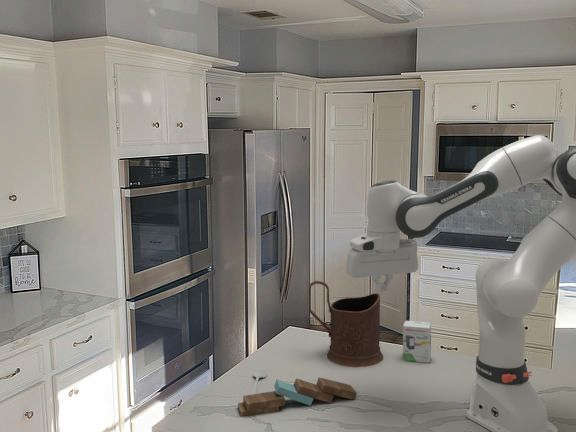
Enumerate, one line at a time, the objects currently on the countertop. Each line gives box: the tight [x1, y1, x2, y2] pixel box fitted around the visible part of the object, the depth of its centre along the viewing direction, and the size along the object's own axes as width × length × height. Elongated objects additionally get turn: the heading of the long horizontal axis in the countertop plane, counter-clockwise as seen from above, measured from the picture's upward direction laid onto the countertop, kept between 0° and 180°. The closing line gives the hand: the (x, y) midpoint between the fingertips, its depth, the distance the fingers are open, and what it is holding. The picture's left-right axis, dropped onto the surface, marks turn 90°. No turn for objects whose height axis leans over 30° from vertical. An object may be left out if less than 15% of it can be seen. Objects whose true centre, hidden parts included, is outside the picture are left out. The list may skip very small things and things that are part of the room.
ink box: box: [402, 320, 432, 364], centre depth 184 cm, size 9×5×12 cm, turn 73°
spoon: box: [248, 367, 267, 395], centre depth 167 cm, size 4×21×2 cm, turn 174°
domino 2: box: [237, 401, 280, 417], centre depth 153 cm, size 2×5×10 cm
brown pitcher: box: [308, 280, 384, 368], centre depth 187 cm, size 18×24×25 cm
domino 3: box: [273, 378, 314, 407], centre depth 156 cm, size 2×5×10 cm
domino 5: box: [316, 377, 358, 401], centre depth 159 cm, size 2×5×10 cm
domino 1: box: [242, 390, 286, 411], centre depth 153 cm, size 2×5×10 cm
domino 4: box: [293, 378, 335, 404], centre depth 157 cm, size 2×5×10 cm
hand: (382, 290), depth 158 cm, fingers closed
